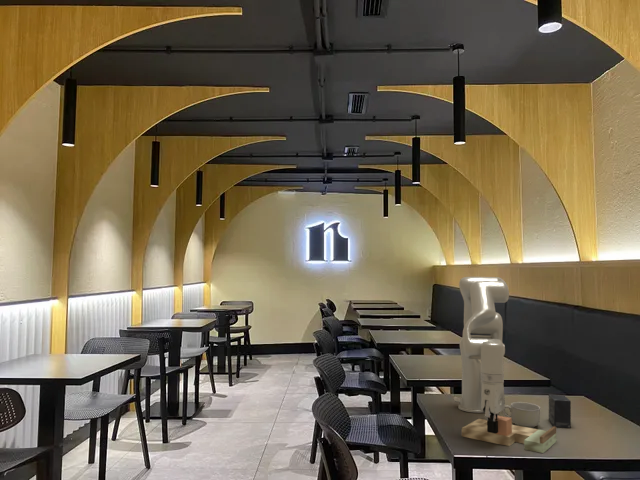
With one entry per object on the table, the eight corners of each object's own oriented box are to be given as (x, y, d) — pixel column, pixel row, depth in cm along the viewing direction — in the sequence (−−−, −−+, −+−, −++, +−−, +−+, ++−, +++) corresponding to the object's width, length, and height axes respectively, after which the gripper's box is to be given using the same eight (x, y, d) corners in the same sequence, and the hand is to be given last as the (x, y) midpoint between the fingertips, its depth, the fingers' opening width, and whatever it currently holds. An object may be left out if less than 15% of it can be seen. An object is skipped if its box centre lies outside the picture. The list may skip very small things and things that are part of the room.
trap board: (461, 436, 193) (461, 422, 193) (478, 426, 206) (478, 413, 206) (543, 453, 176) (542, 437, 176) (556, 441, 188) (556, 426, 189)
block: (492, 432, 187) (492, 418, 188) (497, 429, 191) (497, 415, 192) (506, 435, 184) (506, 420, 185) (511, 432, 188) (511, 418, 188)
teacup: (539, 424, 210) (539, 403, 211) (541, 431, 200) (541, 409, 201) (502, 420, 215) (501, 400, 216) (501, 427, 205) (501, 406, 205)
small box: (572, 428, 204) (571, 400, 205) (553, 427, 206) (553, 399, 206) (565, 421, 215) (564, 394, 215) (547, 420, 216) (547, 393, 217)
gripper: (495, 382, 177) (495, 439, 176) (510, 376, 189) (511, 429, 188) (473, 379, 182) (473, 435, 181) (489, 373, 194) (490, 425, 193)
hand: (492, 432), depth 185 cm, fingers closed
